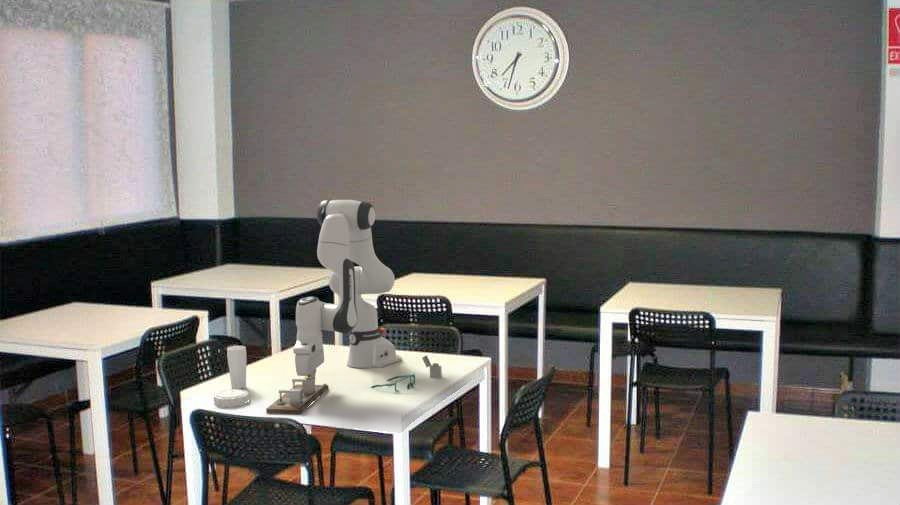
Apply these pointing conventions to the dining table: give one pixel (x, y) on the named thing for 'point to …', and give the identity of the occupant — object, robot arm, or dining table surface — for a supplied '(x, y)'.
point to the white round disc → (231, 398)
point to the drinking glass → (237, 366)
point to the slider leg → (306, 384)
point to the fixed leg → (299, 396)
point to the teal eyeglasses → (399, 380)
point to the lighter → (433, 368)
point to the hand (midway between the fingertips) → (311, 381)
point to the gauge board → (286, 408)
